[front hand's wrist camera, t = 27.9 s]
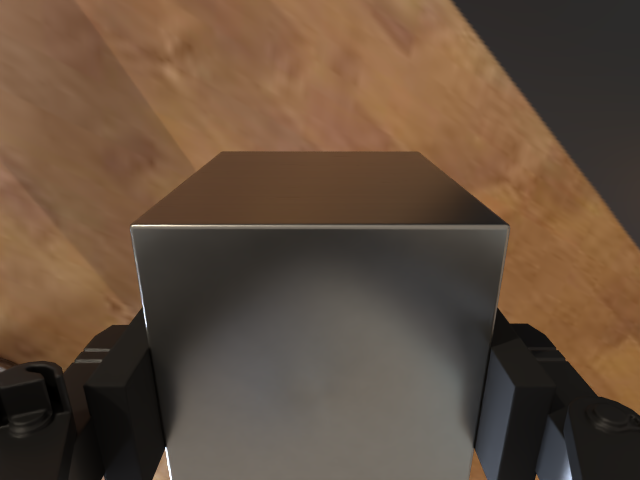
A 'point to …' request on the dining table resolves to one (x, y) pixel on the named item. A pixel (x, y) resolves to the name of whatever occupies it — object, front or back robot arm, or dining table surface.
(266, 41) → the dining table surface
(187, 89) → the dining table surface
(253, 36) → the dining table surface
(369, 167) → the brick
